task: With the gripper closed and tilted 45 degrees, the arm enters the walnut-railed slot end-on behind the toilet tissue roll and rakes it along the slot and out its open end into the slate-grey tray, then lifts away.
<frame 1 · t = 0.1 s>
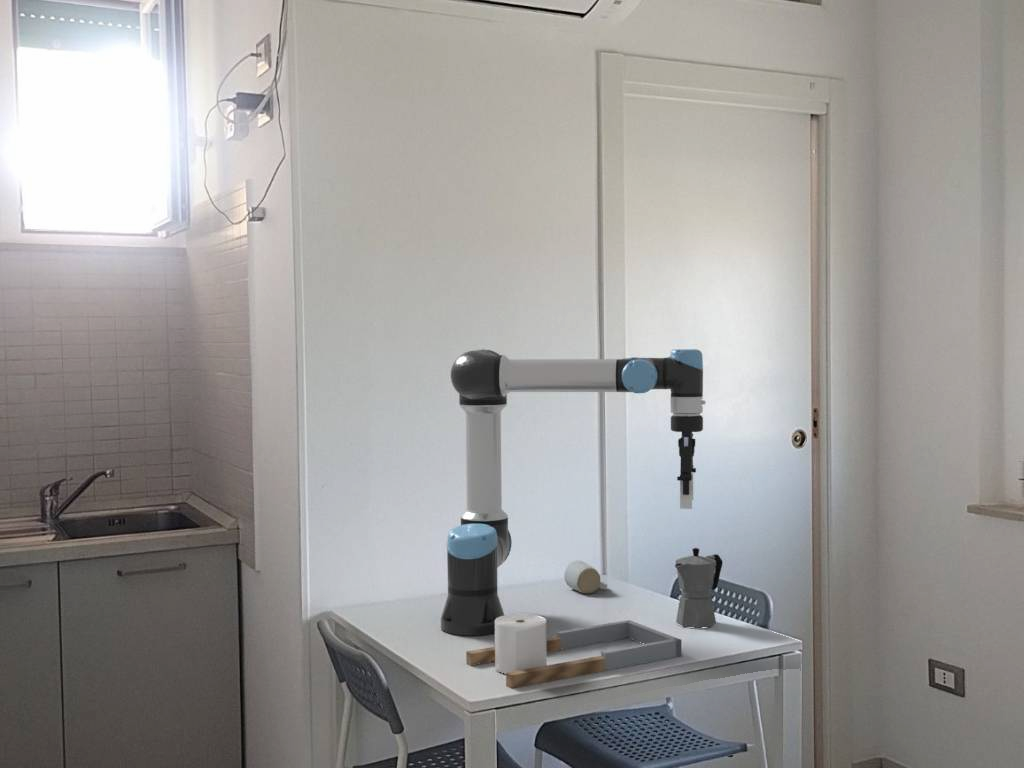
hand: (686, 504, 262), 28 cm above the table, tool pointing down, fingers open, 13 cm apart
coffeepot: (699, 623, 262), on the table
slot lane: (535, 666, 228), on the table
toilet tissue: (522, 670, 227), on the table
ceramic mug: (587, 591, 296), on the table
tray: (615, 652, 238), on the table
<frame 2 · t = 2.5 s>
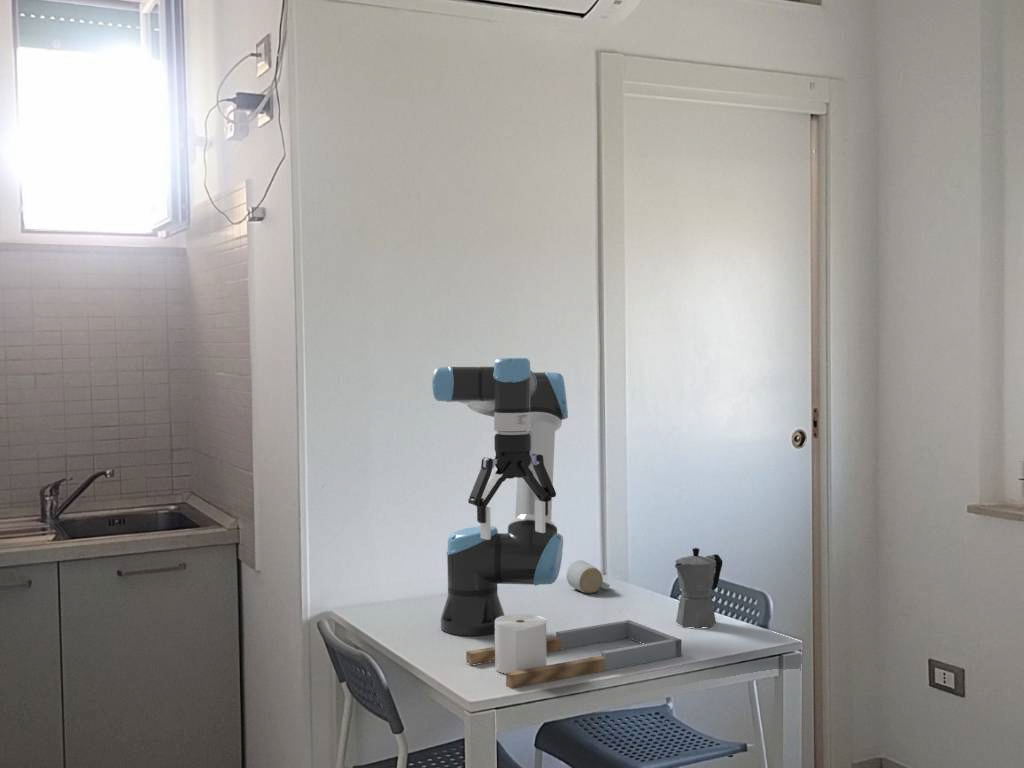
hand: (513, 535, 229), 27 cm above the table, tool pointing down, fingers open, 13 cm apart
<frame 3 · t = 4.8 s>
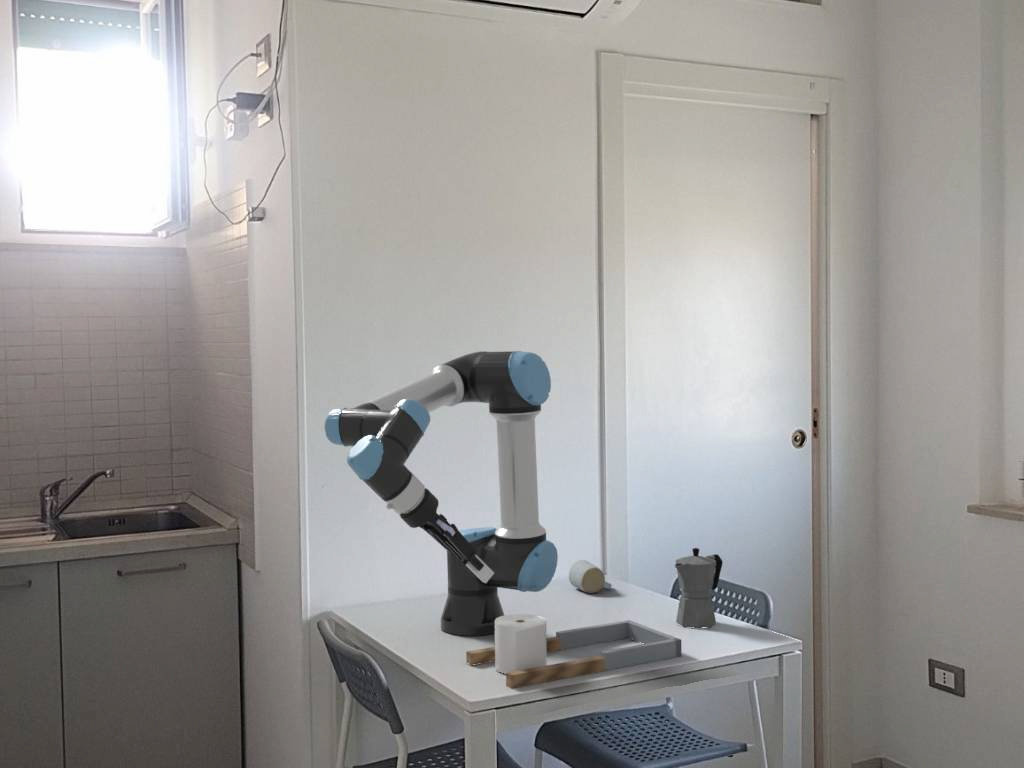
hand: (488, 577, 223), 20 cm above the table, tool tilted 45°, fingers closed
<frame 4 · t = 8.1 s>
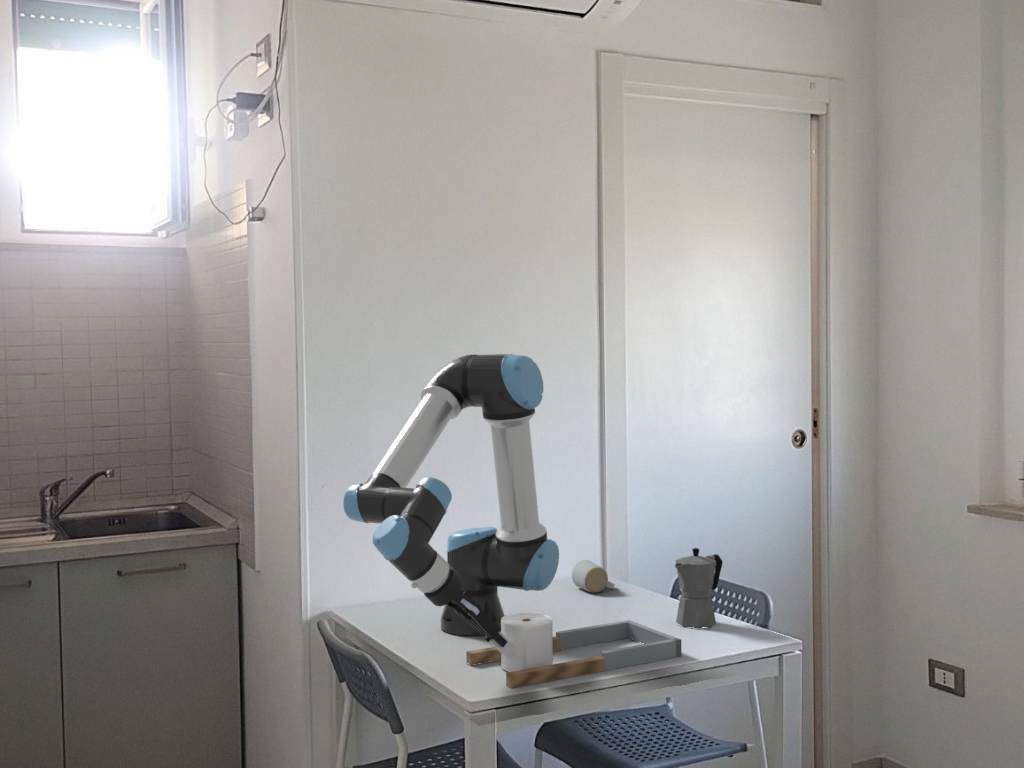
hand: (511, 652, 224), 4 cm above the table, tool tilted 45°, fingers closed
toilet tissue: (528, 668, 228), on the table, touching gripper
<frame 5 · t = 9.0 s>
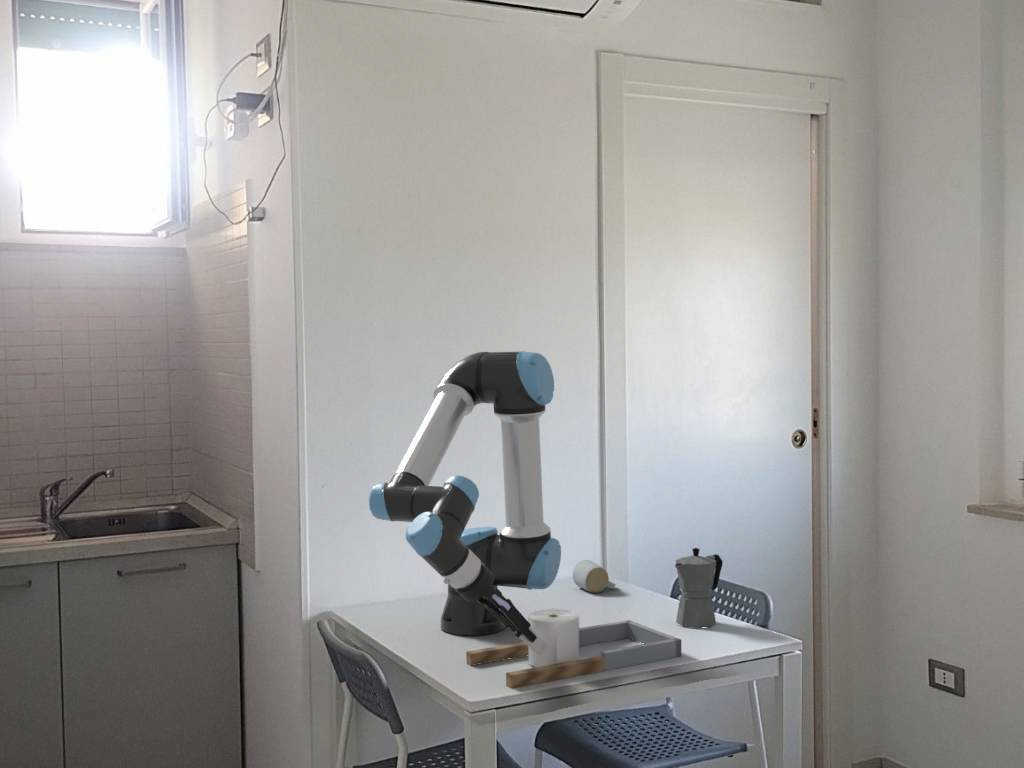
hand: (540, 648, 226), 4 cm above the table, tool tilted 45°, fingers closed
toilet tissue: (555, 664, 231), on the table, touching gripper
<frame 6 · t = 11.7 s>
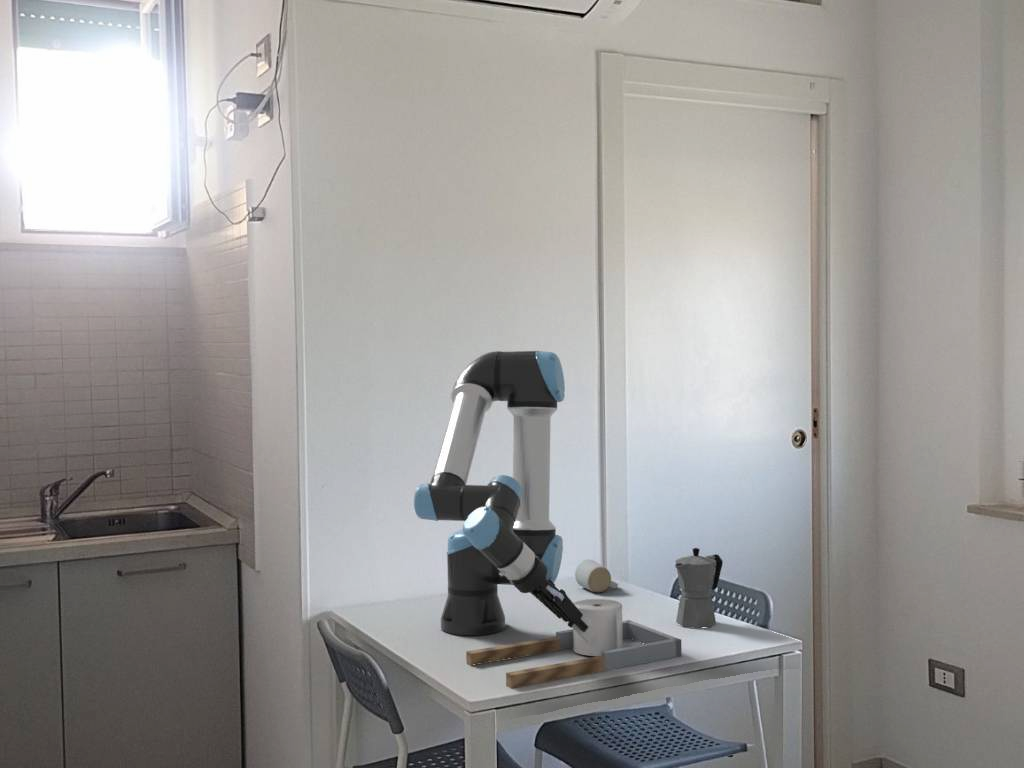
hand: (591, 637, 234), 4 cm above the table, tool tilted 45°, fingers closed
toilet tissue: (600, 651, 239), on the table, touching gripper, tray
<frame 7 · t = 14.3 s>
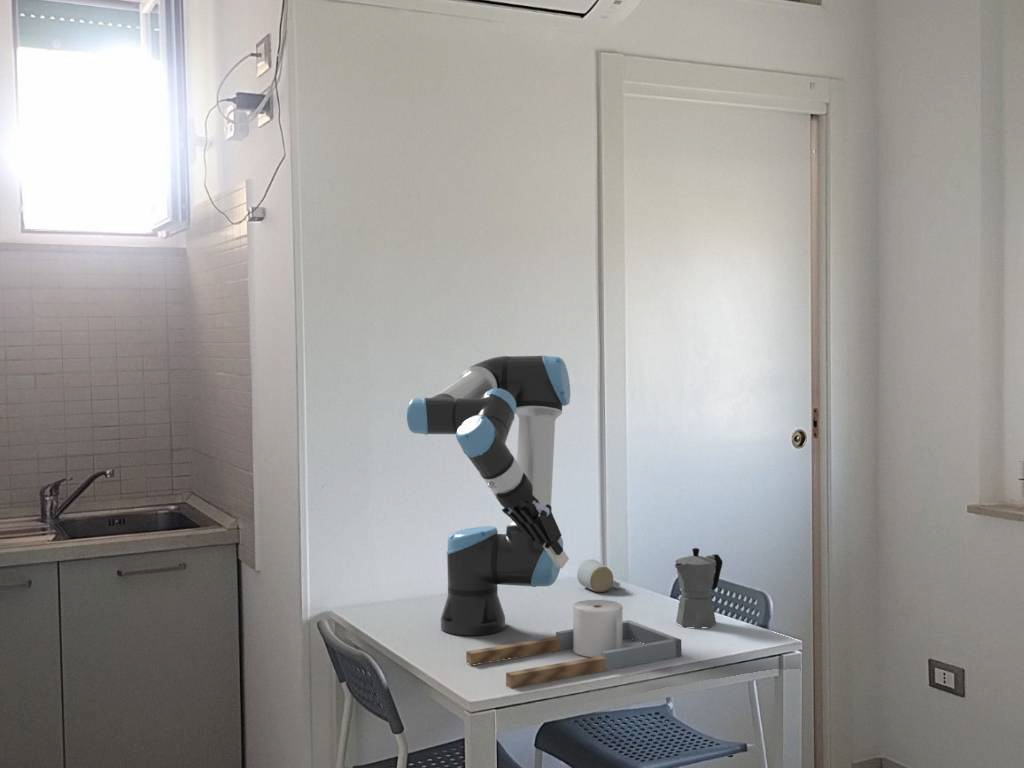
hand: (563, 563, 233), 20 cm above the table, tool tilted 40°, fingers closed
toilet tissue: (600, 652, 239), on the table
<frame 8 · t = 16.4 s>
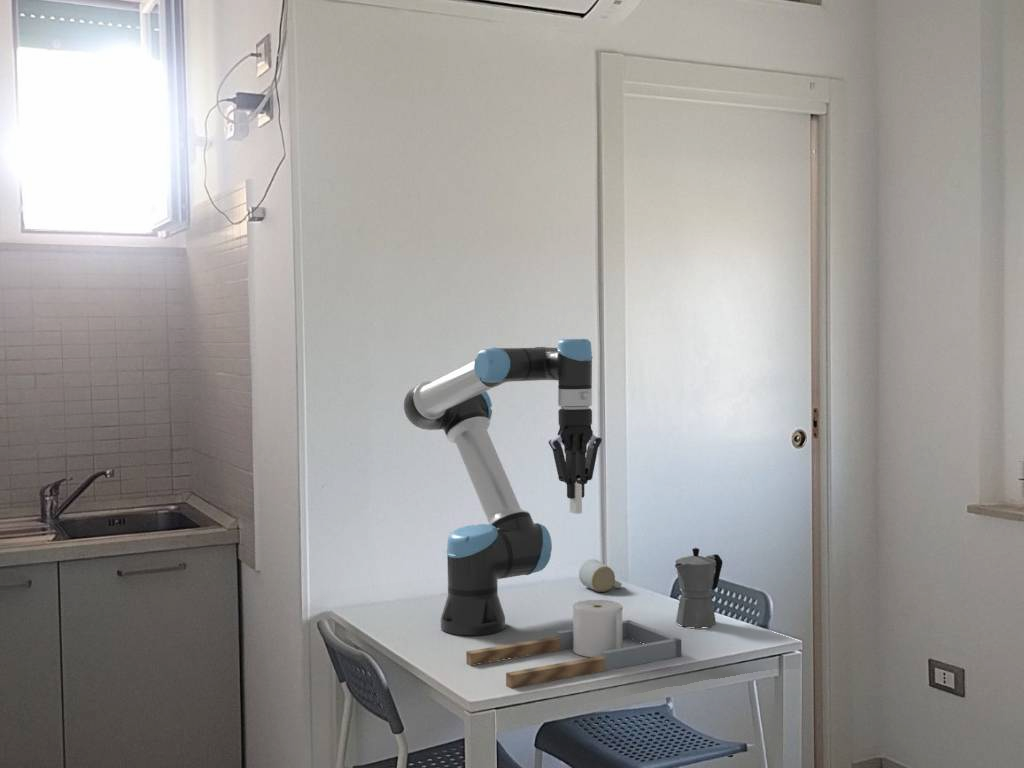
hand: (575, 512, 249), 28 cm above the table, tool pointing down, fingers closed
at the end: toilet tissue 3.1 cm from the tray (horizontally); toilet tissue moved 20.9 cm from its start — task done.
